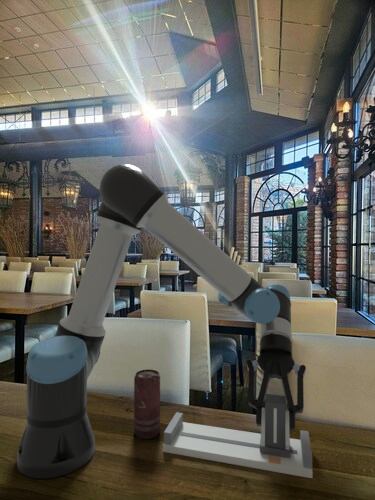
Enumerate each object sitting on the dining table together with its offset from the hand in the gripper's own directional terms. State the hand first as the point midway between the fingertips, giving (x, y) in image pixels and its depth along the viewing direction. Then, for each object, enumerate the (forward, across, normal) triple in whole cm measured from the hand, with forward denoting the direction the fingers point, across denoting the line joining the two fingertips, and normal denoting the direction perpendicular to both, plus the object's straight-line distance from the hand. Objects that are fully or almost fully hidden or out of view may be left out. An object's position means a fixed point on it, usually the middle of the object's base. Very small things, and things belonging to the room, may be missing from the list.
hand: (275, 445), depth 66 cm
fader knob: (-1, 0, -4) cm, 4 cm away
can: (0, +29, -6) cm, 30 cm away
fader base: (+1, +8, -6) cm, 10 cm away
